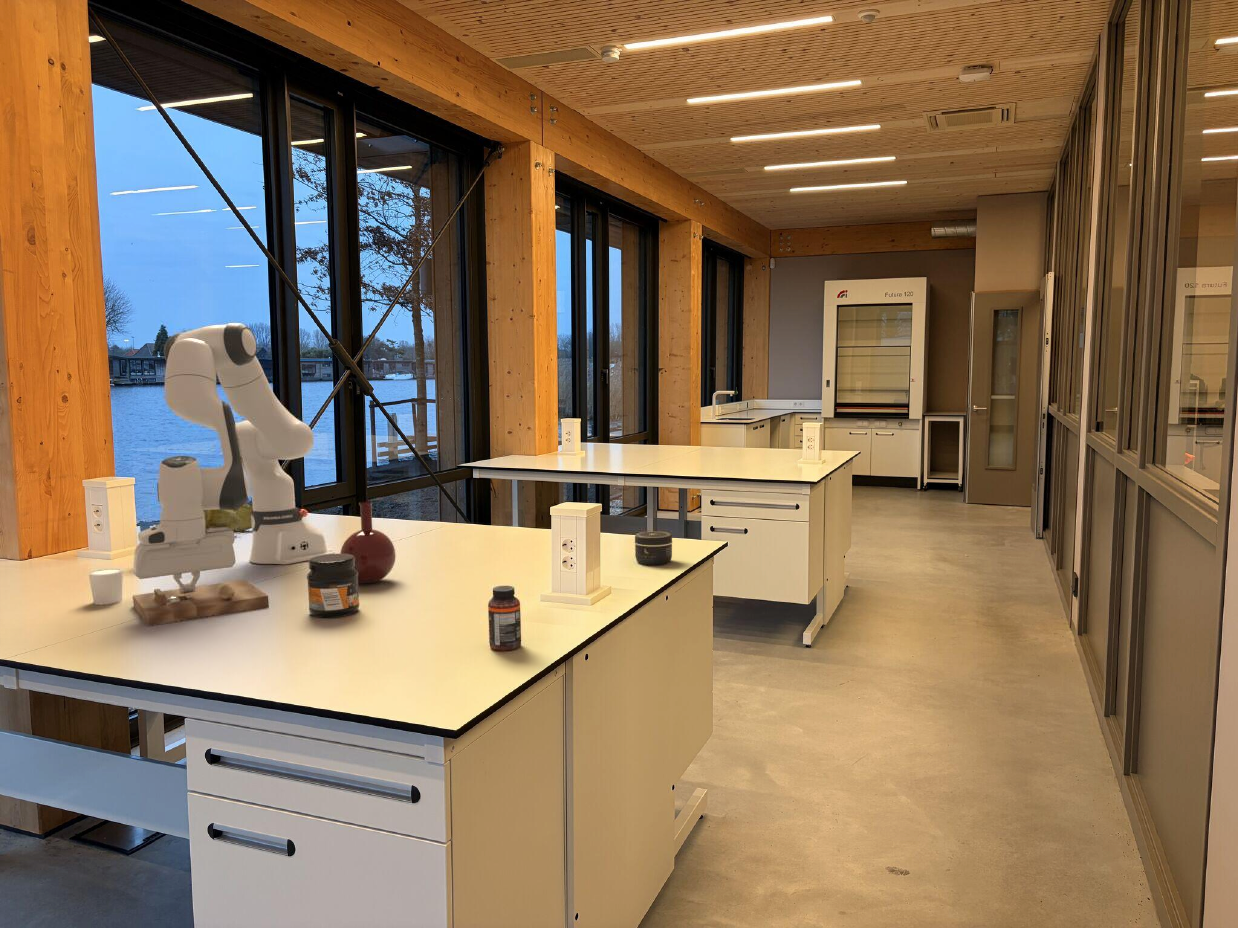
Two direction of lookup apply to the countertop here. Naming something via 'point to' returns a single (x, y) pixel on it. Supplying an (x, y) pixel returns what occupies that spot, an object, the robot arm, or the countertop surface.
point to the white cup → (106, 586)
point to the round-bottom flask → (370, 549)
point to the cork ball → (226, 592)
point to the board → (198, 602)
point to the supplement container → (333, 585)
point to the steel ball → (172, 599)
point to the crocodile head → (229, 518)
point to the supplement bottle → (504, 619)
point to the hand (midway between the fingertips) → (187, 592)
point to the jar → (653, 548)
